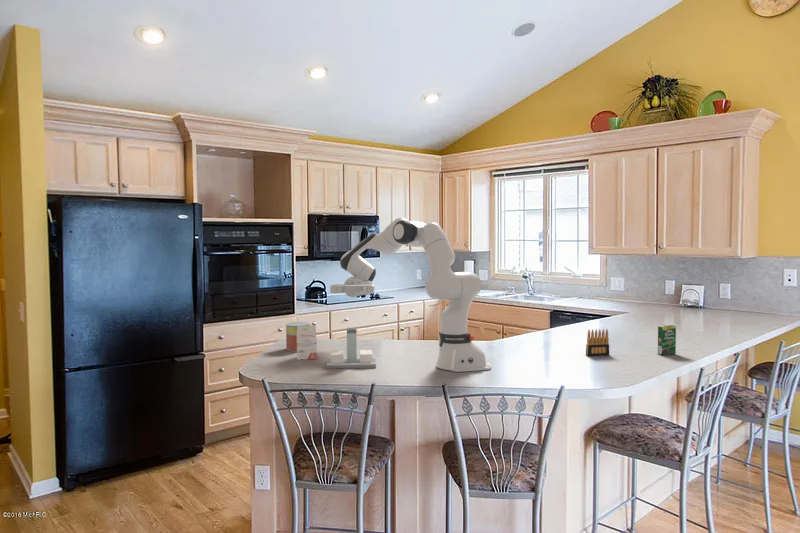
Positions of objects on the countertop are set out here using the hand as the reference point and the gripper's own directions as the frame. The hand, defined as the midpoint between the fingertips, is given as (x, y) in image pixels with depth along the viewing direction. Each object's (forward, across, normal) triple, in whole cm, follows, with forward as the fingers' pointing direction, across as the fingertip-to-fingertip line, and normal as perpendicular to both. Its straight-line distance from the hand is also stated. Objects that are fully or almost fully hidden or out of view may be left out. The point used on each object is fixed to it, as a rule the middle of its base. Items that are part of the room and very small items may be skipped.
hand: (352, 290), depth 256 cm
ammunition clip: (+8, +110, +30) cm, 114 cm away
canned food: (-15, -26, +29) cm, 42 cm away
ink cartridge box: (+5, -20, +30) cm, 36 cm away
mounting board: (+19, 0, +29) cm, 35 cm away
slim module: (+18, 0, +28) cm, 34 cm away
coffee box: (+8, +142, +30) cm, 145 cm away
